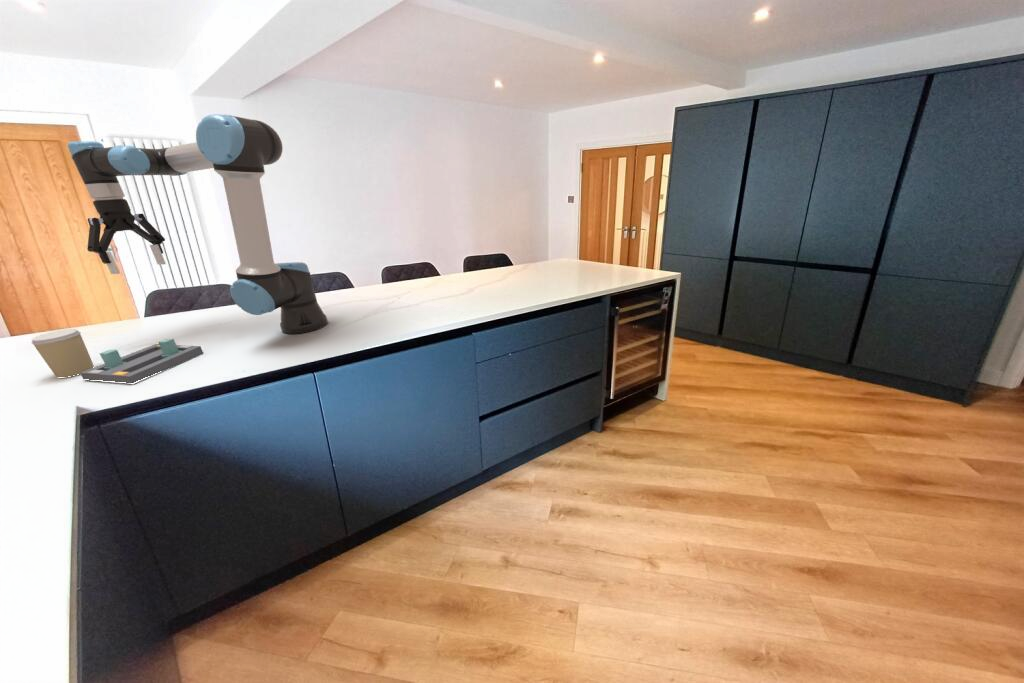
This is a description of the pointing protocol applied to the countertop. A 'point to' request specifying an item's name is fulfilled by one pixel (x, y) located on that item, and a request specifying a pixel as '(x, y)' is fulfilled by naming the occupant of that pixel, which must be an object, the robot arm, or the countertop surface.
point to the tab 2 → (168, 347)
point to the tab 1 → (111, 359)
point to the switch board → (142, 364)
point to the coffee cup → (64, 352)
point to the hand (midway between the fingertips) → (140, 268)
